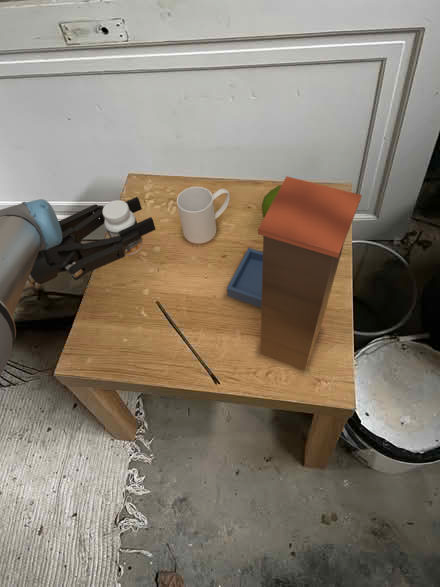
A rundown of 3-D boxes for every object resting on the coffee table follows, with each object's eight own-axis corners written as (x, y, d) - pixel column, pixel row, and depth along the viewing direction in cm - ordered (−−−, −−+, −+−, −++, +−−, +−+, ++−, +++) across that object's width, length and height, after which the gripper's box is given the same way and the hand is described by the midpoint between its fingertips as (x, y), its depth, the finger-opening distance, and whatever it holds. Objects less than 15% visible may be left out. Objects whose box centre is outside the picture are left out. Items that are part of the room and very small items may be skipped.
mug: (191, 249, 96) (185, 217, 87) (178, 227, 100) (171, 194, 91) (238, 229, 98) (236, 196, 90) (223, 208, 102) (220, 174, 94)
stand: (306, 374, 78) (339, 252, 48) (256, 354, 80) (257, 228, 50) (322, 330, 82) (361, 194, 52) (275, 313, 85) (286, 176, 55)
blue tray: (279, 314, 85) (279, 306, 83) (227, 296, 88) (226, 288, 86) (297, 271, 91) (299, 263, 88) (248, 256, 94) (248, 247, 91)
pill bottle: (139, 258, 80) (125, 222, 72) (111, 255, 81) (94, 219, 73) (146, 235, 83) (135, 199, 75) (119, 233, 84) (105, 196, 76)
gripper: (23, 246, 81) (131, 198, 86) (51, 316, 72) (171, 257, 77) (4, 219, 75) (122, 169, 80) (32, 291, 65) (164, 230, 71)
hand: (146, 213), depth 78 cm, fingers closed on pill bottle, 6 cm apart
